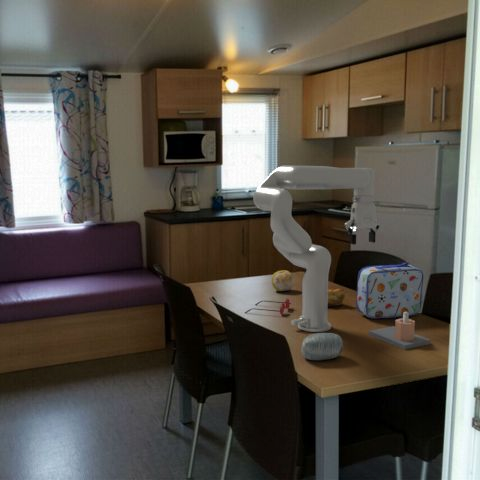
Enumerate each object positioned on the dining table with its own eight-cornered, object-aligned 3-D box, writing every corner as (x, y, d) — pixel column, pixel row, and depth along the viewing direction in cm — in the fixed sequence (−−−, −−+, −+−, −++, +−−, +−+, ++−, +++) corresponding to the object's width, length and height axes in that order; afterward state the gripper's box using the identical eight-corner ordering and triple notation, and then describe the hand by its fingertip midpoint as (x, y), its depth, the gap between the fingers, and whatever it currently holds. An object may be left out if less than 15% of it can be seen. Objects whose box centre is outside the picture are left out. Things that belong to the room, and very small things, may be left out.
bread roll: (319, 309, 243) (319, 291, 242) (310, 303, 252) (310, 286, 251) (347, 307, 247) (347, 289, 246) (336, 301, 256) (337, 284, 255)
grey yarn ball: (338, 340, 193) (336, 320, 187) (348, 362, 186) (346, 341, 179) (299, 351, 192) (296, 331, 186) (307, 373, 185) (304, 353, 179)
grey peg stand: (404, 349, 194) (405, 318, 192) (368, 334, 209) (369, 305, 208) (430, 343, 199) (431, 313, 198) (393, 329, 215) (394, 301, 213)
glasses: (282, 317, 233) (282, 305, 232) (244, 314, 238) (244, 302, 238) (291, 308, 246) (291, 297, 245) (255, 305, 251) (255, 294, 251)
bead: (404, 341, 197) (404, 325, 196) (391, 336, 203) (391, 320, 202) (418, 338, 200) (418, 322, 199) (404, 333, 206) (405, 317, 205)
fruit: (267, 290, 277) (267, 269, 276) (287, 287, 282) (287, 267, 280) (277, 294, 268) (278, 273, 267) (297, 292, 273) (298, 271, 271)
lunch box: (412, 309, 242) (414, 258, 239) (426, 316, 233) (429, 263, 229) (353, 315, 235) (354, 262, 231) (365, 322, 225) (367, 267, 221)
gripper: (352, 201, 217) (351, 246, 220) (387, 199, 225) (385, 242, 228) (339, 200, 223) (339, 243, 226) (374, 198, 231) (372, 240, 234)
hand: (362, 243), depth 227 cm, fingers open, 9 cm apart
